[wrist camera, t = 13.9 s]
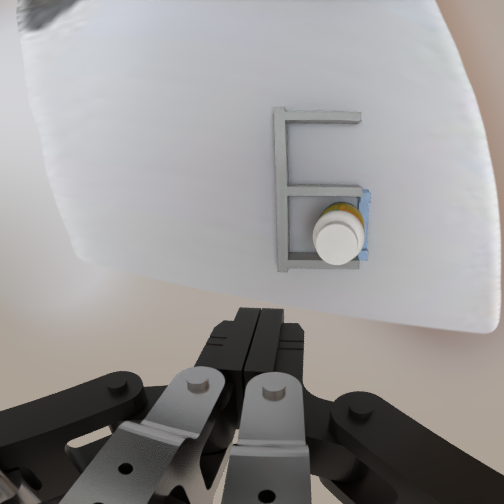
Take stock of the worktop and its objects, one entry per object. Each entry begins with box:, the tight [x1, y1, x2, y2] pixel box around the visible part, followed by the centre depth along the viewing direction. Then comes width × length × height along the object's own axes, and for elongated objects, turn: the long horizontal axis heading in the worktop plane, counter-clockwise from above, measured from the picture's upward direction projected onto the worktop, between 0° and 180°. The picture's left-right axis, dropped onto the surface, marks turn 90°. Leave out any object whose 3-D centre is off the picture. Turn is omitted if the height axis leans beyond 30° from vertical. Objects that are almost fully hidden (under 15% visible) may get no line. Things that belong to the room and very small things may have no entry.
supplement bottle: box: [313, 202, 365, 265], centre depth 33 cm, size 5×5×10 cm
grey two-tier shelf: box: [273, 107, 363, 272], centre depth 36 cm, size 19×10×3 cm, turn 2°
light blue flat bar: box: [357, 190, 371, 260], centre depth 37 cm, size 8×1×2 cm, turn 2°
